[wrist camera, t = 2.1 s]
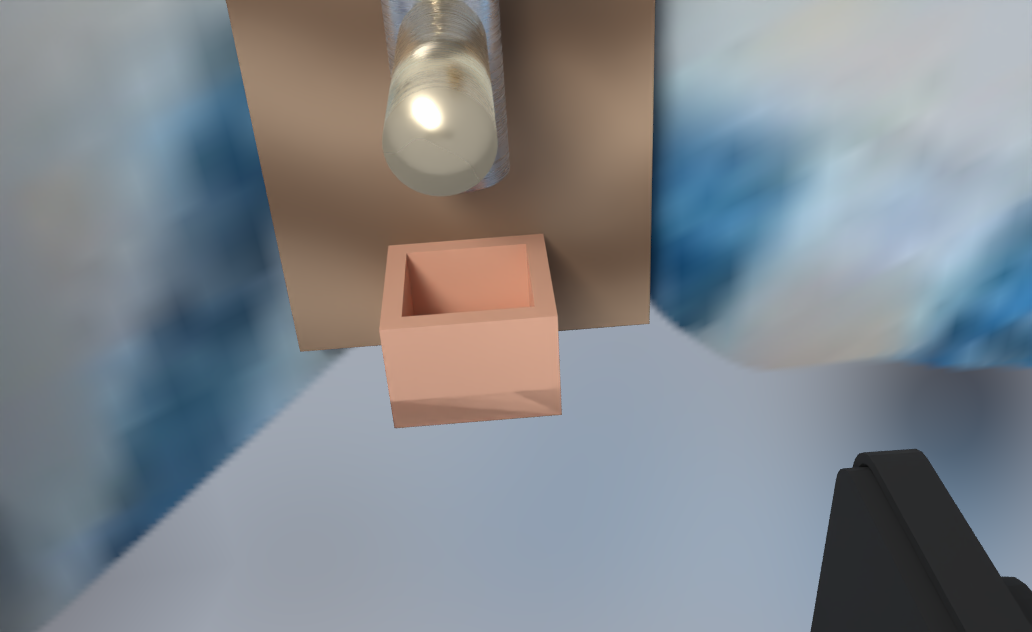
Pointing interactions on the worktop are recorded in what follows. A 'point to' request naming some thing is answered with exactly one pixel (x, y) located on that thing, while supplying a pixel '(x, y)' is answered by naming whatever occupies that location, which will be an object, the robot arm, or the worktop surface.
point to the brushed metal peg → (445, 95)
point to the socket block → (470, 331)
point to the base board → (479, 214)
